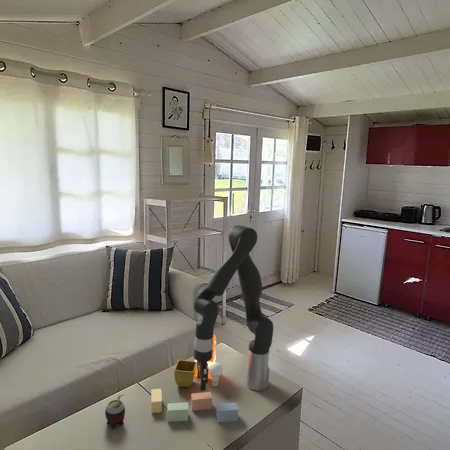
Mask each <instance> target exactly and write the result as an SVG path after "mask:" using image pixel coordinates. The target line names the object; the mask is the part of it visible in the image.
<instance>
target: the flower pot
mask: <svg viewBox="0 0 450 450" xmlns="http://www.w3.org/2000/svg"><path fill="white" fill-rule="evenodd" d="M196 365H197V362H195V360H186V359H178V360H177V362H176V364H175V366H174V368H173V372H174V373H173V374H174V382H175V383H176V385H177V386H178V387H180V388H181V387H182V388H183V387H184V388H190V387H191V386H192V383H193V380H194V378H195V377H194V375H195V371H196Z"/></svg>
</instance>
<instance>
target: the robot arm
mask: <svg viewBox="0 0 450 450" xmlns="http://www.w3.org/2000/svg"><path fill="white" fill-rule="evenodd" d="M228 242H229V246H230V249H231V252H232V253H231V255H230V256H229V257H228V258H227V259H226V260H225V261H224V262H223V263H222V264H221V265H219V266H218V268H216V270H215V271H214V273H213V275H212V277H211V279H210V280H209V282H208V284H207V286H206V287H204V289H203V290H202V291H201V292H200V293H199V294H198V295H197V297H196V298H195V300H194V303H193V310H194V312H196V313H197V314H199V315H200V316H202V319H200V320H198V321H197V322H196V324H195V337H194V342H193V343H194V344H193V358H194V361H195V360H197V369H198V373H197V377H196V378H197V379H200V381H199V382H200V384H199V385H200V386H199V390H200V391H201V392H206V391H207V384H208V383H209V379H208V371H209V369H208V363H207V362H208V361H210V360H211V359H212V355H213V335H214V327H215V326H216V325H215V324H216V322H217V319H218V316H219V312H220V311H219V306H218V304H217V303H218V302H215V301H214V300H213V299H214V298H215V297H222V296H223V295H224V294H225V292H226V289H227V288H228V287H229V286H228V285H229V284H230V282H231V280H232V278H233V277H234V275H235V273H236V272H237V275H238V282H239V286H240V290H241V291H240V292H241V294H242V299H243V303H244V308H245V309H244V310H245V316H246V317H245V318H246V326H247V328H248V330H249V331H250V332H251V333H252V334H253V335H254V339H252V340H250V341H249V344H248V353H247V355H248V356H247V368H246V370H247V371H246V386H247V387H248V388H249V389H250V390H253V391H258V392H259V391H260V392H261V391H264V390H265V389H267V388H269V380H270V367H269V361H270V360H269V359H270V358H269V357H270V350H271V349H270V348H271V346H272V343H273V336H274V322H273V321H272V319H270V318H269V317H267V316H266V315H264V314H263V312H262V308H261V304H260V299H261V296H262V293H263V283H262V277H261V274H260V271H259V269H258V267H257V266H256V264H255V263H254V260H253V259H252V258H251V255H250V253H251V252H252V250H253V249H254V247H255V246H256V244H257V242H258V233H257V231H256V230H255V229H254V228H252V227H248V226H245V225H233V226H232V227H231V228H230V230H229V231H228Z"/></svg>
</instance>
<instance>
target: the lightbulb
mask: <svg viewBox="0 0 450 450" xmlns="http://www.w3.org/2000/svg"><path fill="white" fill-rule="evenodd" d="M223 369H224V368H223V365H222V364H221V363H220V362H218V361H215V362H213V363H211V364H210V366H209V374H210V375H211V378H212V379H211V386H213V387H217V386H218V385H219V380H220V379H219V378H220V376H221V375H222V374H223V372H224V371H223Z"/></svg>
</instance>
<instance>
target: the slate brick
mask: <svg viewBox="0 0 450 450" xmlns="http://www.w3.org/2000/svg"><path fill="white" fill-rule="evenodd" d="M238 407H239V406H238V404H237V402H229V403H228V402H227V403H216V407H215V408H216V409H215V416H216V421H217V423H227V422H238V420H239V408H238Z"/></svg>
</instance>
